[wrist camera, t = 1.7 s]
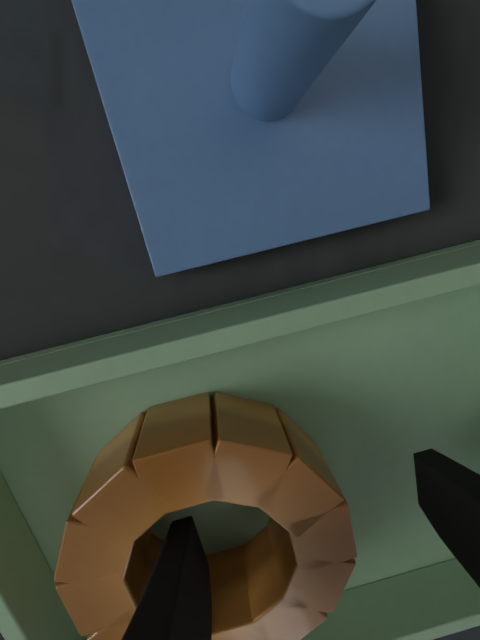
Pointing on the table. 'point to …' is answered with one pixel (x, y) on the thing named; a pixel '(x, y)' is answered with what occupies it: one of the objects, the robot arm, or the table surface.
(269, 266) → the table surface
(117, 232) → the table surface
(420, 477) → the robot arm
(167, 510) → the ring
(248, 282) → the table surface
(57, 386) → the tray
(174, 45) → the post
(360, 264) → the table surface
